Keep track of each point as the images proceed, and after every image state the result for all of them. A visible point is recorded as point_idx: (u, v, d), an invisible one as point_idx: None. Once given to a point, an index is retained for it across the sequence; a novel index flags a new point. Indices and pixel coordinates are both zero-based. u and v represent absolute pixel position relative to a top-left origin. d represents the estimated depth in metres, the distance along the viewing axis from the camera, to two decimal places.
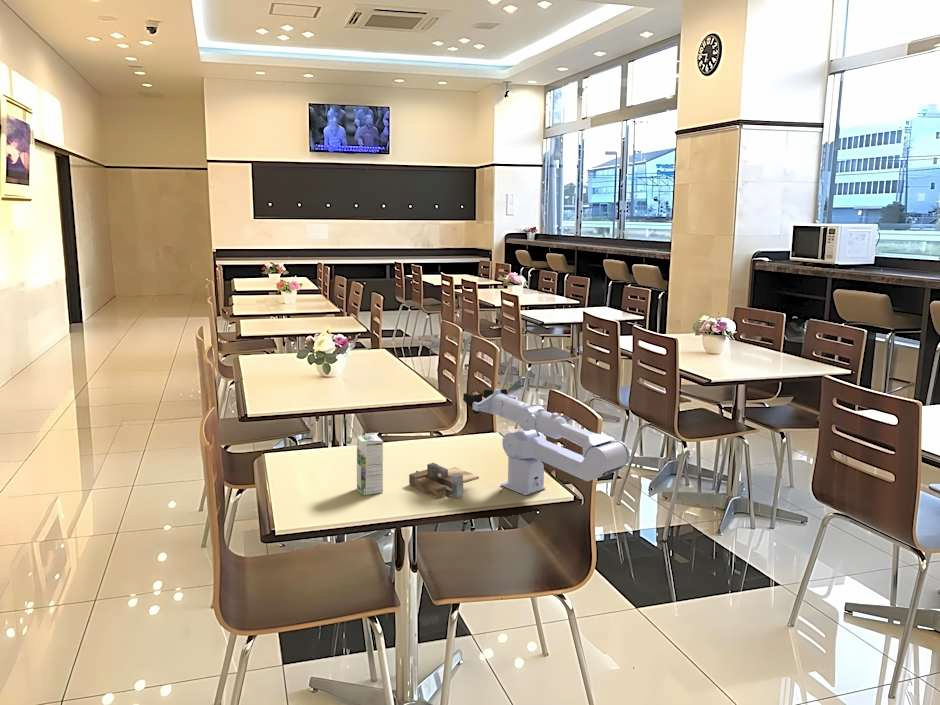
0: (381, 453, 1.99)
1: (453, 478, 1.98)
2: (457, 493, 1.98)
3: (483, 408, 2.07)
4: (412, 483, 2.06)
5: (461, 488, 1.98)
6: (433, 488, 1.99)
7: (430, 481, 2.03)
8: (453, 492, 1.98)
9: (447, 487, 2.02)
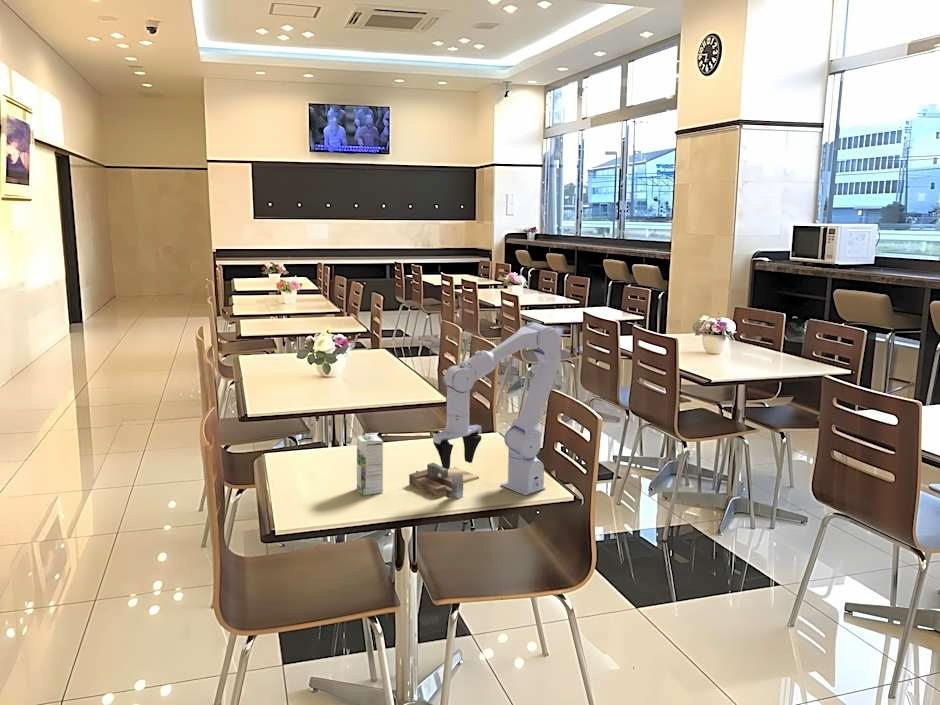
0: (381, 453, 1.99)
1: (453, 478, 1.98)
2: (457, 493, 1.98)
3: (445, 435, 1.92)
4: (412, 483, 2.06)
5: (461, 488, 1.98)
6: (433, 488, 1.99)
7: (430, 481, 2.03)
8: (453, 492, 1.98)
9: (447, 487, 2.02)
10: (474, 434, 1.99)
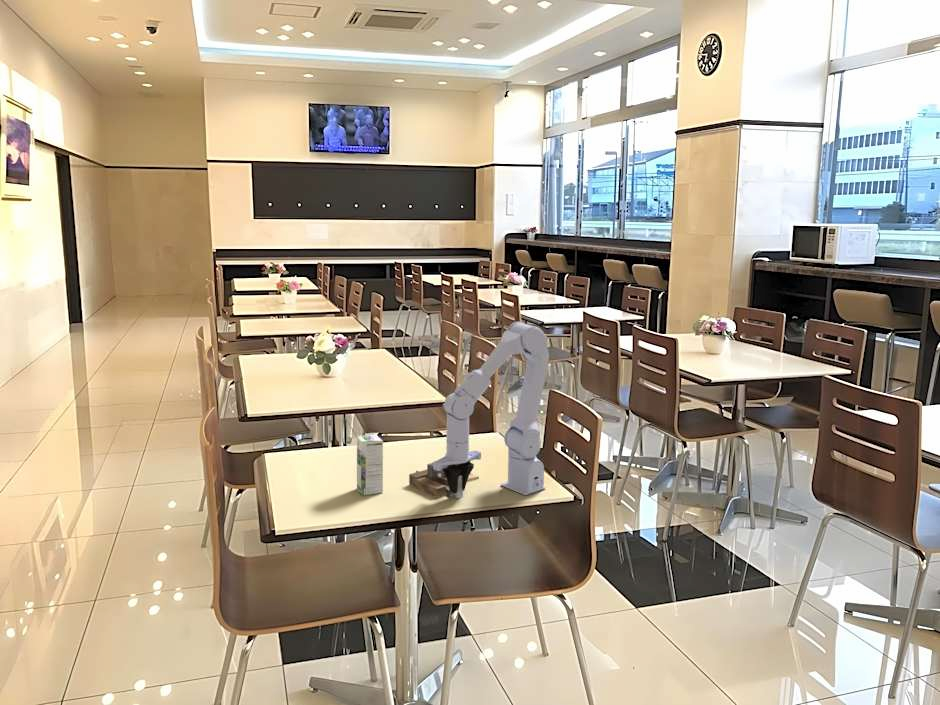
0: (381, 453, 1.99)
1: None
2: (457, 493, 1.98)
3: (444, 462, 1.93)
4: (412, 483, 2.06)
5: (461, 488, 1.98)
6: (433, 488, 1.99)
7: (430, 481, 2.03)
8: None
9: (447, 487, 2.02)
10: None
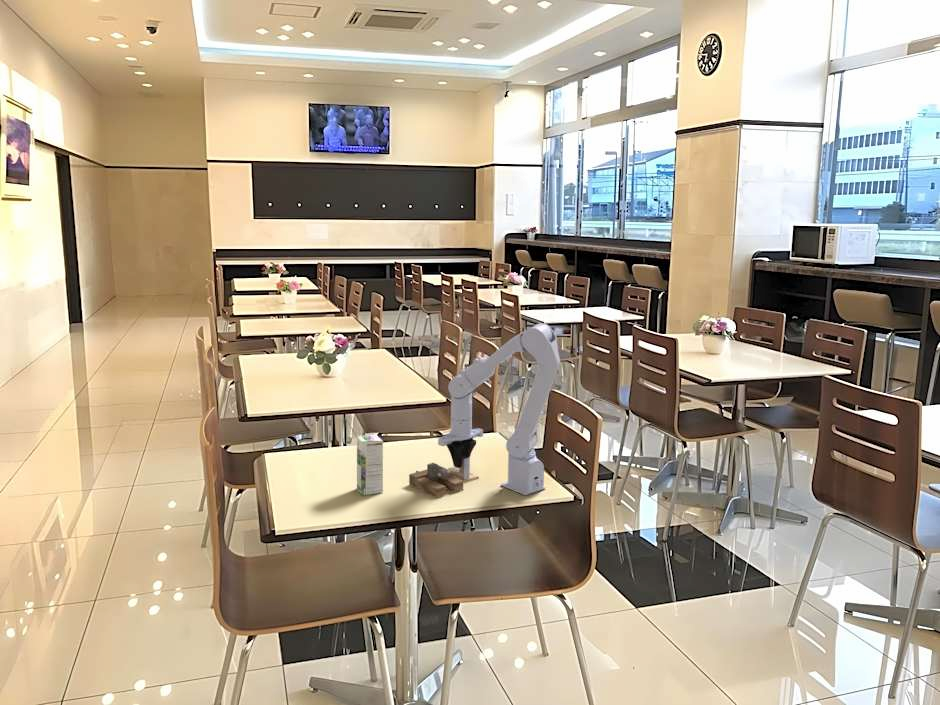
0: (381, 453, 1.99)
1: None
2: (464, 474, 2.10)
3: None
4: (412, 483, 2.06)
5: (468, 470, 2.10)
6: (433, 488, 1.99)
7: (430, 481, 2.03)
8: (460, 474, 2.10)
9: (454, 469, 2.14)
10: None
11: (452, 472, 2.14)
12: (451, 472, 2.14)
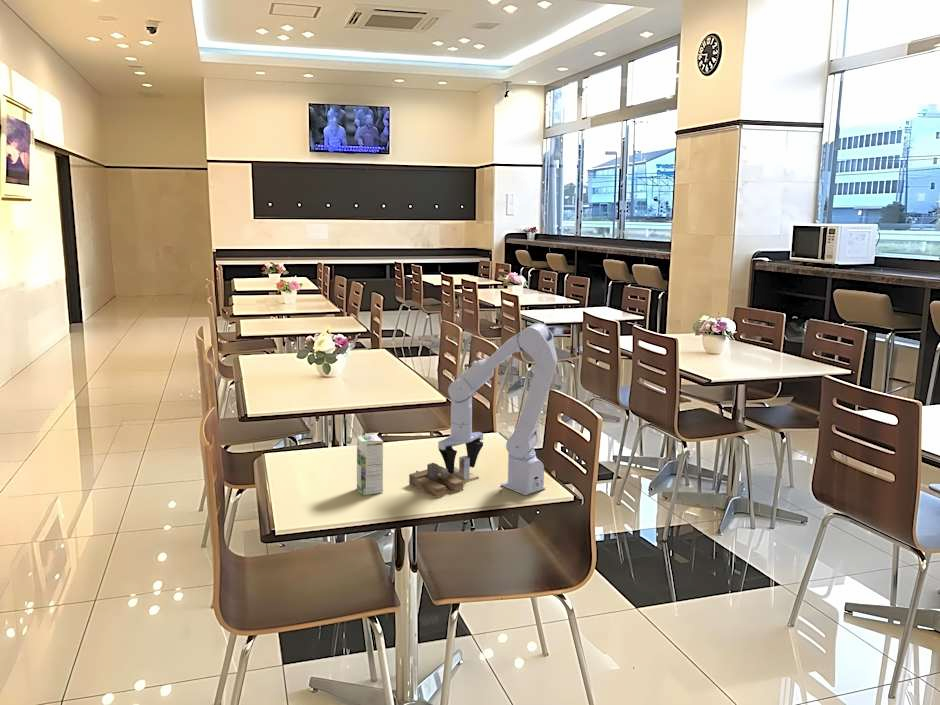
0: (381, 453, 1.99)
1: (460, 460, 2.10)
2: (464, 474, 2.10)
3: (449, 442, 2.07)
4: (412, 483, 2.06)
5: (468, 470, 2.10)
6: (433, 488, 1.99)
7: (430, 481, 2.03)
8: (460, 474, 2.10)
9: (454, 469, 2.14)
10: (476, 441, 2.13)
11: None
12: None
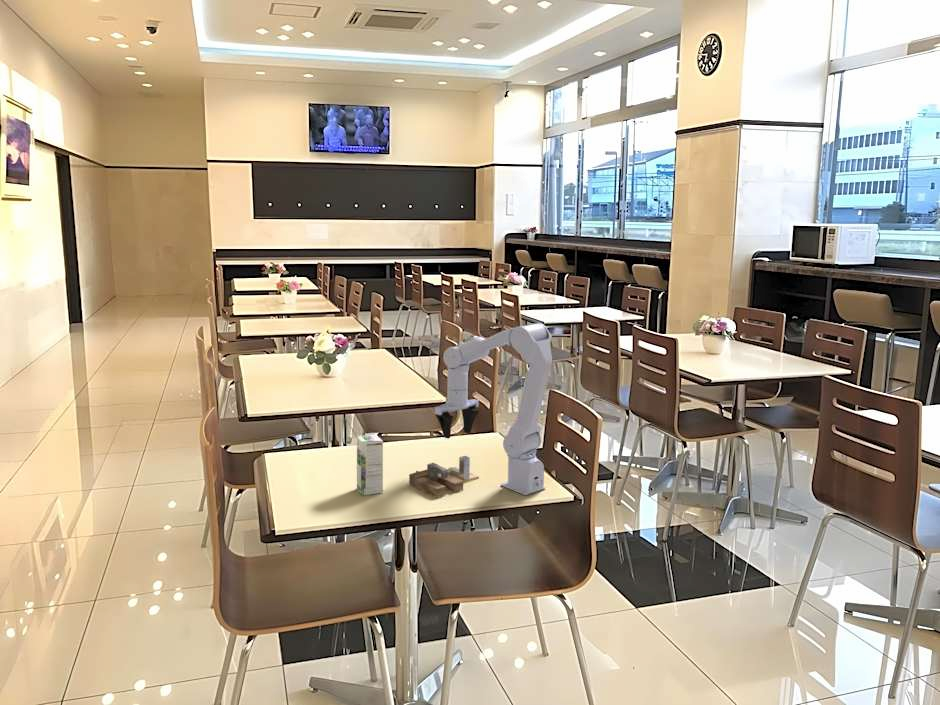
0: (381, 453, 1.99)
1: (460, 460, 2.10)
2: (464, 474, 2.10)
3: None
4: (412, 483, 2.06)
5: (468, 470, 2.10)
6: (433, 488, 1.99)
7: (430, 481, 2.03)
8: (460, 474, 2.10)
9: (454, 469, 2.14)
10: (472, 407, 2.20)
11: (452, 472, 2.14)
12: (451, 472, 2.14)
